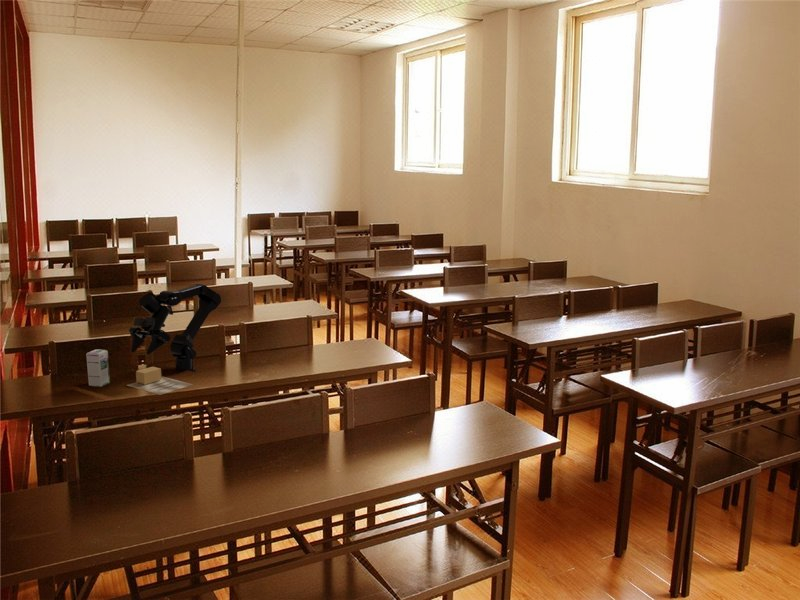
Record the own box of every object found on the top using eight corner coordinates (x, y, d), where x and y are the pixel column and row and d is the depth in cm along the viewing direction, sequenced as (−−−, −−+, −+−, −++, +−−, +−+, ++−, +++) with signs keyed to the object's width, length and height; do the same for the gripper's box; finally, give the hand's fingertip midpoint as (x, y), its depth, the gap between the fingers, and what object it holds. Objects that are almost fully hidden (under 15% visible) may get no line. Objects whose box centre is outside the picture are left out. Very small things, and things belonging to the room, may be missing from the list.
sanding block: (153, 378, 290) (152, 366, 289) (161, 380, 287) (160, 368, 286) (136, 383, 283) (135, 371, 282) (144, 385, 280) (144, 373, 279)
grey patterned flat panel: (159, 378, 294) (159, 375, 293) (193, 387, 283) (193, 384, 283) (126, 388, 281) (126, 385, 280) (160, 397, 270) (159, 394, 270)
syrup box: (101, 389, 278) (99, 353, 276) (88, 388, 280) (85, 352, 277) (110, 385, 284) (108, 349, 281) (97, 384, 285) (94, 348, 282)
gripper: (128, 307, 287) (109, 341, 280) (159, 310, 277) (140, 345, 270) (147, 321, 295) (129, 354, 288) (178, 324, 285) (160, 359, 279)
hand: (139, 353), depth 281 cm, fingers open, 9 cm apart
